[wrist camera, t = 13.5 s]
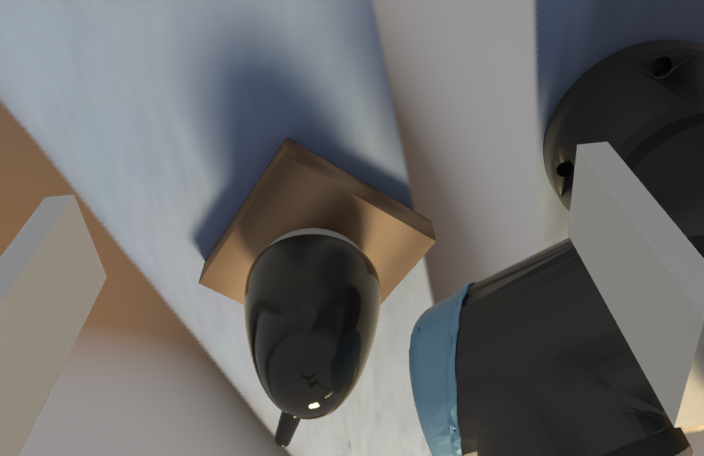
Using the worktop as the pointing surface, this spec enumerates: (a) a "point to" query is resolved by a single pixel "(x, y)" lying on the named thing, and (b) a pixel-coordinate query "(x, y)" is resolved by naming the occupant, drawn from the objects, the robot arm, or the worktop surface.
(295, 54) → the worktop surface
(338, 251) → the glossy black egg shape
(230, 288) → the walnut stand
